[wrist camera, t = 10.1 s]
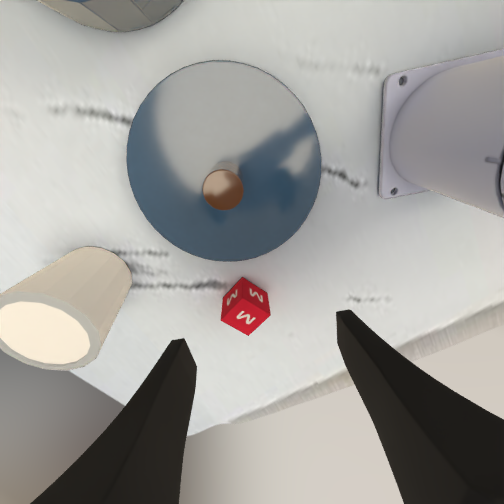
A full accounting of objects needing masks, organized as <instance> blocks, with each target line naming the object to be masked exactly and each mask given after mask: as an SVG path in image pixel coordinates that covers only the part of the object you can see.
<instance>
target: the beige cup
mask: <svg viewBox="0 0 504 504" xmlns="http://www.w3.org/2000/svg"><path fill="white" fill-rule="evenodd" d="M131 285H132V276H131V272H130V270H129V268H128V267H127V265H126V263H125V262H124V261H123V260H122V259H120V258H119V257H118V256H117V255H116V254H114V253H112V252H110V251H107V250H105V249H103V248H98V247H88V246H87V247H83V248H79V249H75V250H73V251H72V252H70V253H68V254H67V255H65V256H63V257H62V258H60V259H58V260H57V261H55V262H53V263H52V264H50V265H48V266H47V267H45V268H43V269H42V270H40V271H38V272H36V273H35V274H33V275H31V276H30V277H28V278H26V279H25V280H23V281H21V282H20V283H18V284H16V285H15V286H13V287H11V288H10V289H8V290H6V291H5V292H3V293H1V294H0V349H1V350H2V351H3V352H5V353H6V354H8V355H10V356H12V357H14V358H16V359H17V360H19V361H21V362H23V363H25V364H29V365H32V366H36V367H39V368H43V369H49V370H71V369H76V368H80V367H84V366H86V365H87V364H89V363H90V362H91V361H93V360H94V359H96V358H97V355H98V353H99V351H100V349H101V347H102V345H103V343H104V341H105V339H106V337H107V335H108V333H109V331H110V329H111V327H112V325H113V322H114V320H115V318H116V316H117V314H118V312H119V310H120V308H121V306H122V304H123V302H124V300H125V298H126V296H127V294H128V291H129V289H130V287H131Z"/></svg>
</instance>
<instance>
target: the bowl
mask: <svg viewBox="0 0 504 504" xmlns="http://www.w3.org/2000/svg"><path fill="white" fill-rule="evenodd" d="M37 1H39V2H40V3H42V4H44V5H46V6H47V7H49V8H51V9H53V10H55V11H57V12H59V13H61V14H62V15H64V16H66V17H68V18H70V19H72V20H74V21H76V22H78V23H79V24H81V25H84V26H89V27H92V28H95V29H99V30H105V31H110V32H128V31H134V30H140V29H142V28H145V27H148V26H151V25H153V24H155V23H157V22H159V21H160V20H162V19H164V18H165V17H166V16H168V15H169V14H170V13H171V12H173V11H174V10H175V9H176V8H177V7H178V6H179V5H180V4H181V2H182V1H183V0H37Z"/></svg>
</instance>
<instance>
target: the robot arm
mask: <svg viewBox="0 0 504 504" xmlns="http://www.w3.org/2000/svg"><path fill="white" fill-rule="evenodd" d="M401 77H403V79H404V82H403V84H402V85H401V86H400V85H399V79H400V78H401ZM393 188H395V191H394V192H393V193H391V190H392V189H393ZM430 190H431V191H434V192H437V193H439V194H442V195H444V196H447V197H450V198H452V199H455V200H458V201H460V202H463V203H466V204H468V205H471V206H474V207H476V208H479V209H481V210H484V211H487V212H489V213H492V214H495V215H497V216H500V217H503V218H504V49H500V50H495V51H491V52H486V53H482V54H478V55H473V56H469V57H464V58H460V59H455V60H451V61H446V62H442V63H438V64H433V65H429V66H424V67H420V68H415V69H411V70H407V71H402V72H398V73H394V74H391V75H389V76H388V77H387V78H386V80H385V82H384V91H383V112H382V133H381V154H380V176H379V196H380V197H381V198H383V199H390V198H395V197H400V196H405V195H410V194H415V193H420V192H425V191H430ZM336 319H337V343H338V346H339V349H340V352H341V354H342V357H343V360H344V363H345V365H346V367H347V369H348V371H349V373H350V376H351V378H352V380H353V382H354V384H355V386H356V388H357V390H358V392H359V394H360V396H361V398H362V400H363V402H364V404H365V406H366V408H367V410H368V412H369V414H370V416H371V419H372V421H373V423H374V425H375V428H376V430H377V433H378V436H379V438H380V441H381V443H382V446H383V448H384V451H385V453H386V456H387V458H388V461H389V464H390V467H391V469H392V472H393V475H394V477H395V480H396V482H397V485H398V488H399V491H400V494H401V496H402V499H403V502H404V504H504V420H503V419H502V418H500V417H498V416H496V415H494V414H492V413H490V412H489V411H487V410H485V409H483V408H482V407H480V406H478V405H476V404H475V403H473V402H471V401H470V400H468V399H466V398H464V397H463V396H461V395H459V394H458V393H456V392H454V391H453V390H451V389H450V388H448V387H447V386H445V385H443V384H442V383H440V382H439V381H437V380H436V379H434V378H433V377H431V376H430V375H428V374H427V373H425V372H424V371H423V370H421V369H420V368H418V367H417V366H416V365H414V364H413V363H412V362H410V361H409V360H408V359H406V358H405V357H404V356H402V355H401V354H400V353H399V352H397V351H396V350H395V349H394V348H392V347H391V346H390V345H389V344H388V343H386V342H385V341H384V340H383V339H382V338H380V337H379V336H378V335H377V334H376V333H375V332H374V331H372V330H371V329H370V328H369V327H368V326H367V325H366V324H365V323H364V322H363V321H362V320H361V319H360V318H358V317H357V316H356V315H355V314H354V313H353V312H352V311H351V310H344V311H338V312H336ZM196 373H197V366H196V363H195V361H194V359H193V357H192V354H191V352H190V350H189V348H188V346H187V343H186V341H185V339H184V338H183V339H177V340H172V341H171V342H170V344H169V345H168V347H167V348H166V350H165V351H164V353H163V354H162V356H161V357H160V359H159V360H158V362H157V363H156V365H155V366H154V367H153V369H152V370H151V372H150V373H149V375H148V376H147V378H146V379H145V380H144V382H143V383H142V385H141V386H140V387H139V389H138V390H137V391H136V393H135V394H134V395H133V397H132V398H131V399H130V401H129V402H128V403H127V405H126V406H125V407H124V408H123V410H122V411H121V412H120V413H119V415H118V416H117V417H116V418H115V419H114V420H113V422H112V423H111V424H110V425H109V426H108V427H107V429H106V430H105V431H104V432H103V433H102V434H101V435H100V436H99V437H98V438H97V440H96V441H95V442H94V443H93V444H92V445H91V446H90V447H89V448H88V449H87V450H86V451H85V452H84V453H83V455H81V457H79V459H77V461H76V462H74V463H73V464H72V465H71V466H70V467H69V468H68V469H67V470H66V471H65V472H64V473H63V474H62V475H61V476H60V477H59V478H58V479H57V480H56V481H55V482H54V483H53V484H52V485H50V486H49V487H48V488H47V489H46V490H45V491H44V492H43V493H42V494H41V495H40V496H38V497H37V498H36V499H35V500H34V501H33V502H32V503H30V504H179V494H180V482H181V473H182V463H183V454H184V448H185V441H186V436H187V431H188V426H189V420H190V415H191V410H192V405H193V399H194V394H195V387H196Z"/></svg>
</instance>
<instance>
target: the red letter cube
mask: <svg viewBox="0 0 504 504" xmlns="http://www.w3.org/2000/svg"><path fill="white" fill-rule="evenodd" d="M270 315H271V314H270V307H269V301H268V294H267V293H266V292H265V291H263V290H262V289H260V288H259V287H257V286H256V285H254V284H252V283H251V282H249V281H248V280H246V279H245V278H243V277H242V278H241V279H240V280H239V281H238V282H237V283H236V284H235V285H234V287H233V288H232V289H231V290H230V291H229V292H228V293H227V294H226V295H225V296H224V297H223V302H222V312H221V321H223V322H224V323H226V324H228V325H230V326H232V327H233V328H235V329H237V330H239V331H241V332H242V333H244V334H246V335H248V336H249V335H250V334H251V333H252V332H253V331H254V330H255V329H256V328H257V327H258V326H260V325H261V324H262V323H263V322H264V321H265V320H266V319H267V318H268V317H269V316H270Z"/></svg>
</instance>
